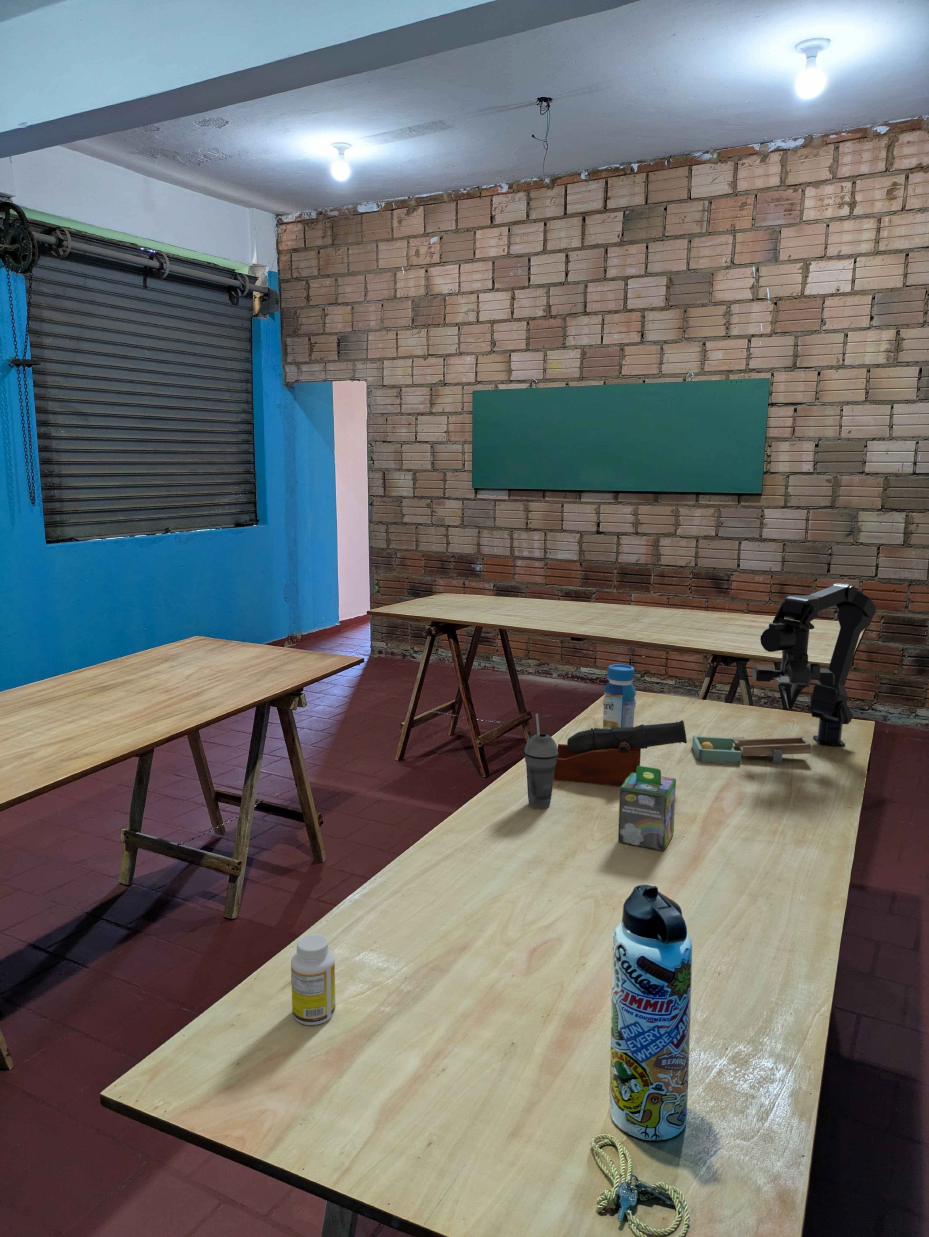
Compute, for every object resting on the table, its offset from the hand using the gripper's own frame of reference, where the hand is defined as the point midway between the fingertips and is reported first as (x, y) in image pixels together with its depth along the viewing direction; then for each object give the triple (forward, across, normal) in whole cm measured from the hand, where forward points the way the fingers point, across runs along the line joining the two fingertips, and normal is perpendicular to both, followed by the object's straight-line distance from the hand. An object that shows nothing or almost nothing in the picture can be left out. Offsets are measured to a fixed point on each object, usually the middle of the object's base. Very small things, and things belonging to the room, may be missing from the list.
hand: (789, 708), depth 213 cm
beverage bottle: (+12, -42, +3) cm, 44 cm away
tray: (+12, -18, -4) cm, 22 cm away
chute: (+10, -4, -1) cm, 11 cm away
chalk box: (+12, -40, -56) cm, 70 cm away
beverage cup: (+12, -61, -43) cm, 76 cm away
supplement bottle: (+12, -88, -117) cm, 147 cm away
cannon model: (+12, -43, -24) cm, 51 cm away
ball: (+10, -20, -4) cm, 23 cm away
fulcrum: (+12, -4, -4) cm, 13 cm away
